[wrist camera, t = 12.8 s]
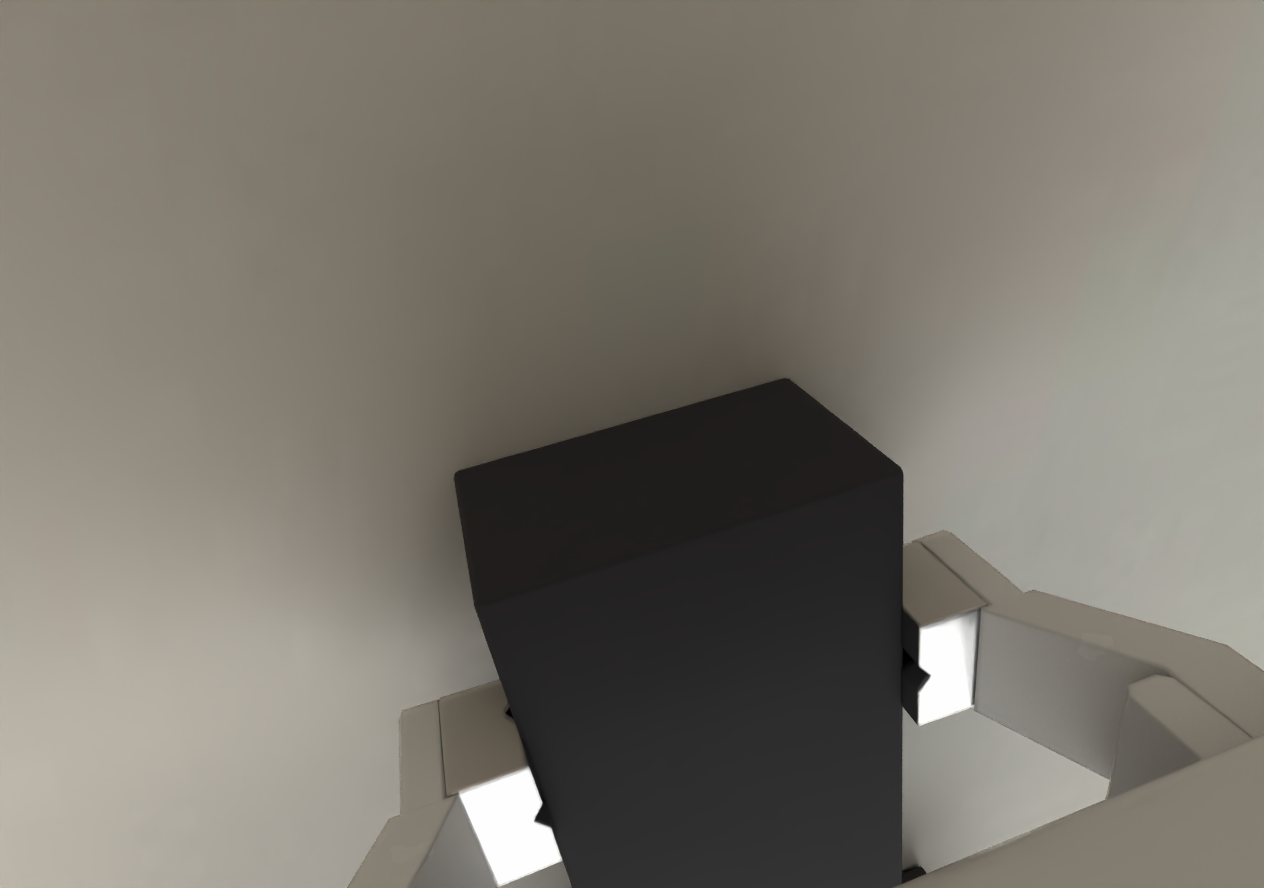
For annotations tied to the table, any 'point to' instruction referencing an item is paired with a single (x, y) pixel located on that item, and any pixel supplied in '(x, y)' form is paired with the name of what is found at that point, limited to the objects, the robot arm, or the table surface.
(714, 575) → the inserted plug
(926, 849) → the table surface
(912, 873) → the base pad
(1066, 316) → the table surface
